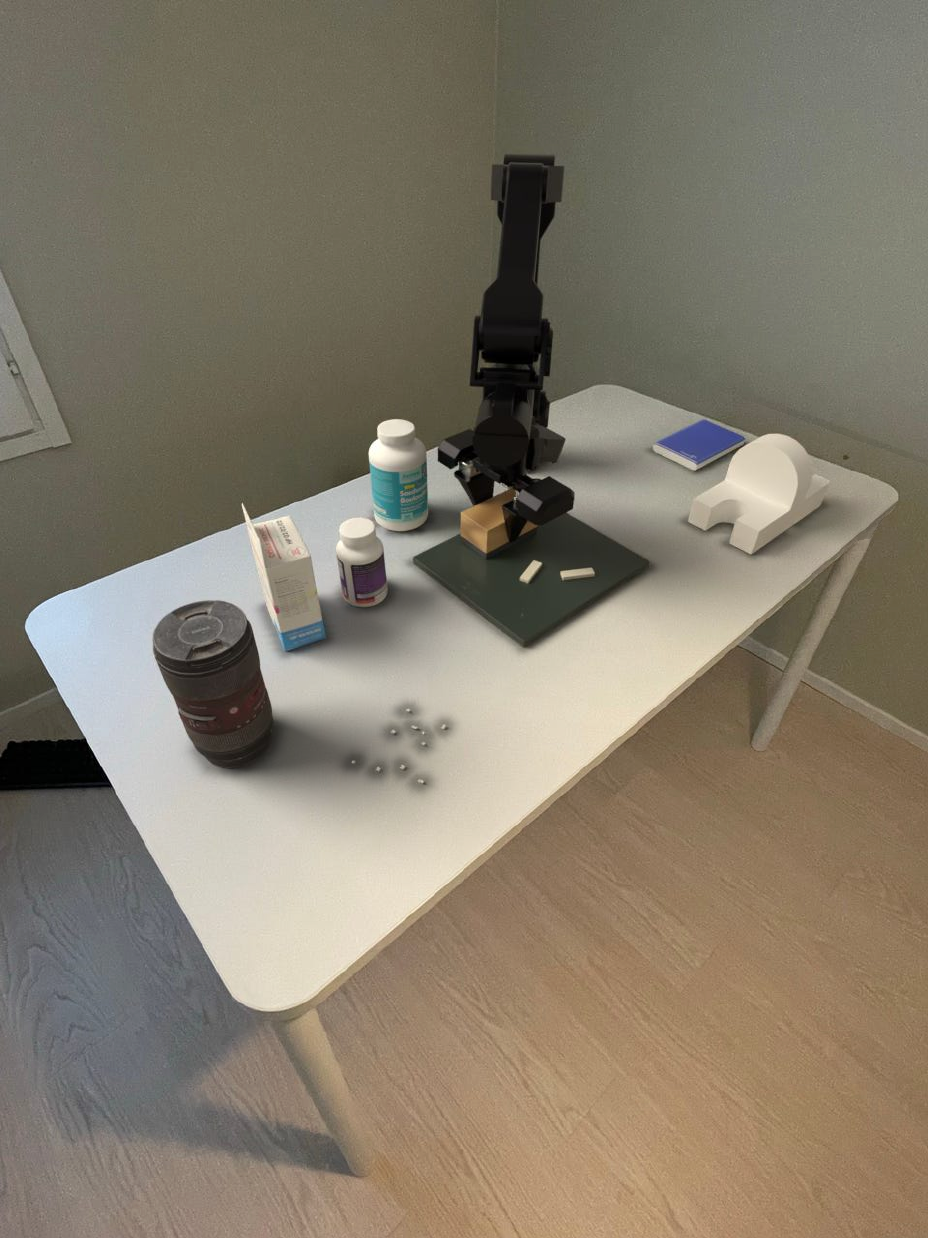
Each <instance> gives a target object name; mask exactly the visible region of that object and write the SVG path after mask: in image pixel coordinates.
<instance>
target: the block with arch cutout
mask: <svg viewBox="0 0 928 1238" xmlns="http://www.w3.org/2000/svg"><path fill="white" fill-rule="evenodd" d="M829 485H830V479H827V478H825V477H823V476H821V475H818V474H816V473H814V474H813V464H812V460H811V457H810V455H809V454H808V451H807V450H806V448H805V447H804V446H803V445H802V444H801V443H799V441H797V440H796V439H794V438H793V437H791V436H789V435H785V434H782V433H767V434H764V435H761V436H759V437H756V439H754V440H752V441H751V442H749V443H747V444H745V445H744V446H742V447H740V448H739V449H738V450H736V452H735V454H734V455H733V456H732V457H731V460H730V462H729V466H728V469H727V472H726V475H725V478H724V479H723V481H721V482H719V483H718V484H716V485H714V486H713V487H711V488H709V489H707V490H705V491H704V492H702V493H701V494H699V495H697V496H696V497H694V498H693V500H692V504H691V507H690V511H689V515H688V519H687V522H688V523H689V524H691V525H693V526H695V527H697V528H699V529H701V530H703V531H704V532H706V531H708V530H709V529H711V528H712V527H714V526H715V525H717V524H720V523H727V524H732V525H733V528H732V532H731V534H730V537H729V541H728V544H730V545H732V546H733V547H736V548H738V550H740V551H743V552H745V553H746V554H749V555H753V554H754V553H756V552H757V551H759V550H760V549H761V548H763V547H764V546H766V545H767V544H768V543H770V542H771V541H772V540H774V539H776V538H777V537H779V536H780V535H781V534H782V533H784V532H786V531H787V530H788V529H790V528H791V527H792V526H795V524H797V523H798V522H800V521H801V520H803V519H804V518H805V517H807V516H808V515H809V514H811V513H812V512H814V511H815V510H817V509H818V508H819V507H820V506H821V505H822V502H823V500H824V497H825V495H826V492H827V490H828V487H829Z"/></svg>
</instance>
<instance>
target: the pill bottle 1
mask: <svg viewBox="0 0 928 1238" xmlns="http://www.w3.org/2000/svg"><path fill="white" fill-rule="evenodd" d="M338 529H339V537H340V540H339V541H338V542H337V544H336V548H335V554H336V561H337V567H338V572H339V573H338V574H339V579H340V586H341V592H342V597H343V599H344V600H345V602H346V603H348V604H349V605H351V606H354V607H357V608H369V607H370V608H371V607H373V606H376V605H379V604H380V603H381V602H383V601H384V600H385V598H386V597H387V595H388V590H389V589H388V579H387V578H388V577H387V571H386V562H385V561H386V560H385V551H384V550H385V549H384V543H383V542H382V539H380V537H378V536H377V530H376V525H375V523H374V521H372V520H370V519H368V518H365V517H353V518H352V517H351V518H349V519H346V520H345V521H344V522H342V523H341V524H340V526H339V528H338Z"/></svg>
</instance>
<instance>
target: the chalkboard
mask: <svg viewBox="0 0 928 1238" xmlns="http://www.w3.org/2000/svg"><path fill="white" fill-rule="evenodd" d="M533 560H535V561H538V562H541V563H542V566H541V568H540V569H539V570H538V572H537V573H536V574H535V575H534V577H533V578H532V579H531V581H530V582H529V583H525V582H522V581H520V577H521V575H522V574H523V573H524V572H525V570H526V569H527V568H528V567H529V565H530V564H531V563H532V562H533ZM650 562H651V561H650V560H649V559H647V558H645V557H643V556H642V555H640V554H639V553H637V552H635V551H633V550H632V549H630V548H628V547H626V546H625V545H623V544H621V543H619V542H618V541H616V540H615V539H613V538H611V537H609V536H608V535H605V534H604V533H602V532H600V531H599V530H597V529H595V528H594V527H592V526H590V525H589V524H588V523H585V522H584V521H581V520H580V519H578V518H576V517H575V516H573V515H571V514H570V513H568V512H567V513H565V514H563V515H561V516H559V517H557V518H555V519H553V520H551V521H549V522H548V523H546V524H544V525H538V526H537V533H535V534H533V535H531V536H529V537H528V538H526V539H524V540H522V541H520V542H518V543H516V544H514V545H513V546H511V547H509V548H507V549H505V550H503V551H501V552H500V553H498V554H496V555H494V556H492V557H490V558H488V559H485V558H483V557H482V556H480V555H479V554H478V553H476V552H475V551H474V550H472V549H471V548H469V547H468V546H467V545H465V544H464V543H463V542H461V532H460V533H458V534H456V535H454V536H452V537H450V538H448V539H447V540H444V541H442V542H440V543H438V544H437V545H434V546H432V547H430V548H428V549H427V550H424V551H422V552H420V553H418V554H417V555H415V556H412V564H414V565H415V566H416V567H417V568H418V569H420V570H421V571H423V573H425V574H426V575H428V576H429V577H430V578H431V579H433V580H434V581H436V582H437V583H438V584H440V585H441V586H442V587H444V588H445V589H446V590H447V591H449V592H450V593H451V594H453V595H454V597H457V598H458V599H460V601H462V602H463V603H464V604H465V605H467V606H469V608H471V609H472V610H474V611H475V612H476V613H478V614H479V615H480V616H481V617H483V618H484V619H485V620H487V621H488V622H489V623H491V625H493V626H494V627H496V628H497V629H498V630H499V631H501V632H502V633H504V634H505V635H506V636H508V637H509V638H510V639H511V640H513V641H514V642H515V643H517V644H518V645H519V646H521V647H522V648H526V647H527V646H528V645H530V644H531V643H533V642H534V641H536V640H538V639H539V638H540V637H542V636H543V635H546V634H547V633H548V632H550V631H552V630H553V629H554V628H556V627H558V626H559V625H561V624H563V623H564V622H565V621H567V620H569V619H570V618H572V617H573V616H575V615H576V614H577V613H579V612H581V611H582V610H584V609H586V608H587V607H589V606H590V605H592V604H593V603H595V602H597V601H598V600H600V599H602V598H603V597H605V596H606V595H607V594H609V593H611V592H613V591H614V590H615V589H617V588H618V587H620V586H622V585H623V584H625V583H626V582H628V581H629V580H631V579H633V578H634V577H636V576H638V575H639V574H640V573H642V572H643V571H645V570H647V569H648V568H649V567H650ZM584 568H592V569H593V571H594V573H595V576H593V577H585V578H577V579H569V580H563V579H562V577H561V575H560V573H561V571H567V570H575V569H584Z"/></svg>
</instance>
